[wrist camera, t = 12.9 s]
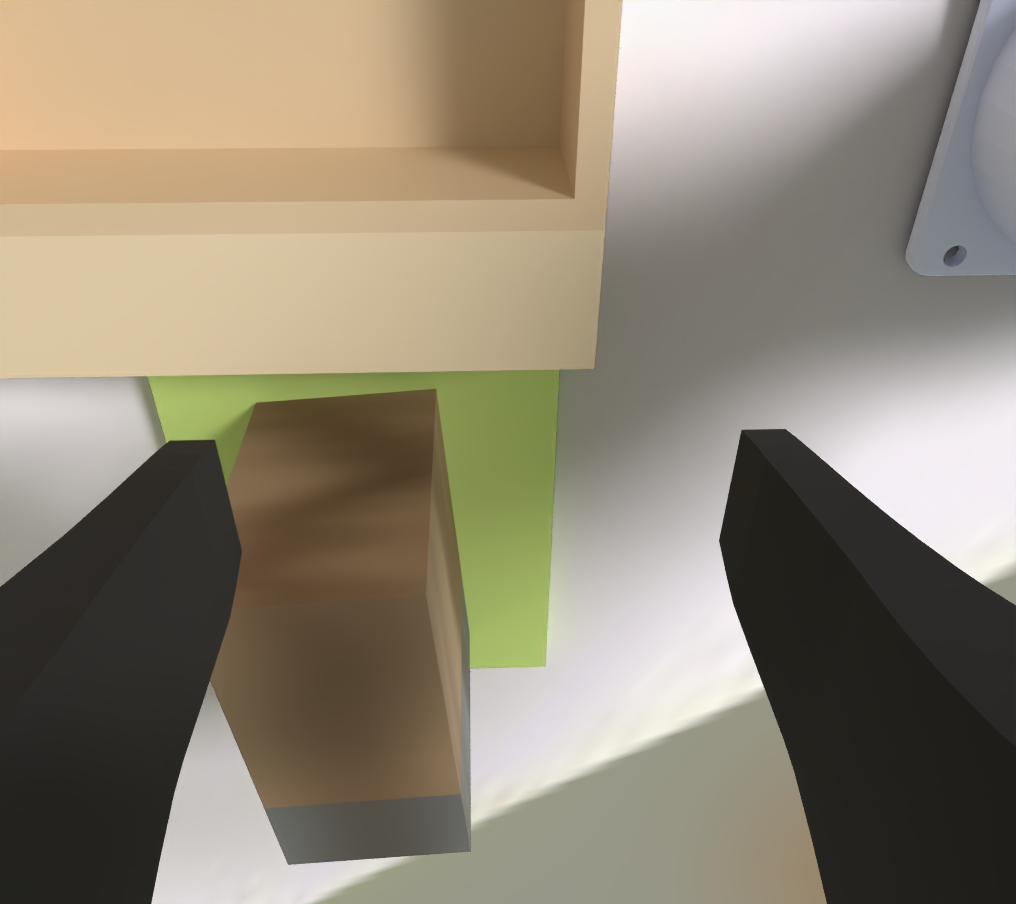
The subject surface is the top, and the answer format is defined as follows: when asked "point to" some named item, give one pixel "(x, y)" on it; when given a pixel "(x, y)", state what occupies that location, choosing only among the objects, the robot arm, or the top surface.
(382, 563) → the box
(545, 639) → the mat
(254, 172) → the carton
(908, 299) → the top surface
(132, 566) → the robot arm
